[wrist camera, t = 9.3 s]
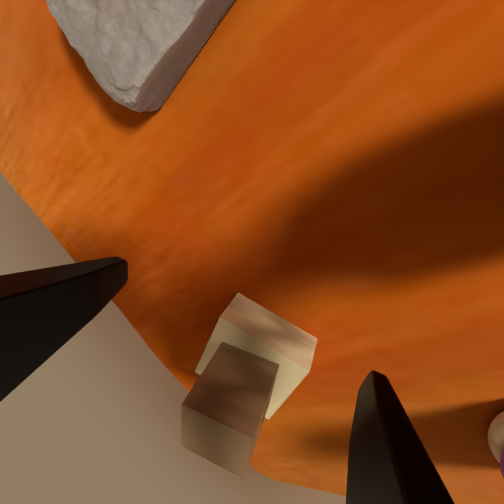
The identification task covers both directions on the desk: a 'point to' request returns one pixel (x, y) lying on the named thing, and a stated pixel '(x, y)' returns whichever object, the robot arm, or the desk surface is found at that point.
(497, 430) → the stacking toy
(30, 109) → the desk surface
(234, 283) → the desk surface
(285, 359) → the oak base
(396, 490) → the robot arm
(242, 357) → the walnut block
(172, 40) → the stone block
